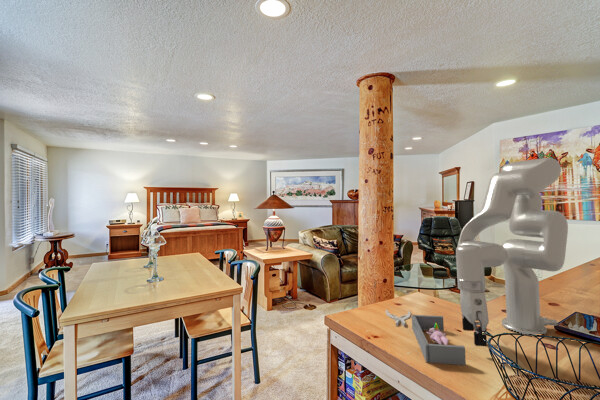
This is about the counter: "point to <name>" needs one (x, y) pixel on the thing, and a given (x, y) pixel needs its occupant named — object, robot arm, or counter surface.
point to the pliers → (399, 320)
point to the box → (436, 351)
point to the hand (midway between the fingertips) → (474, 337)
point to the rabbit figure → (437, 335)
